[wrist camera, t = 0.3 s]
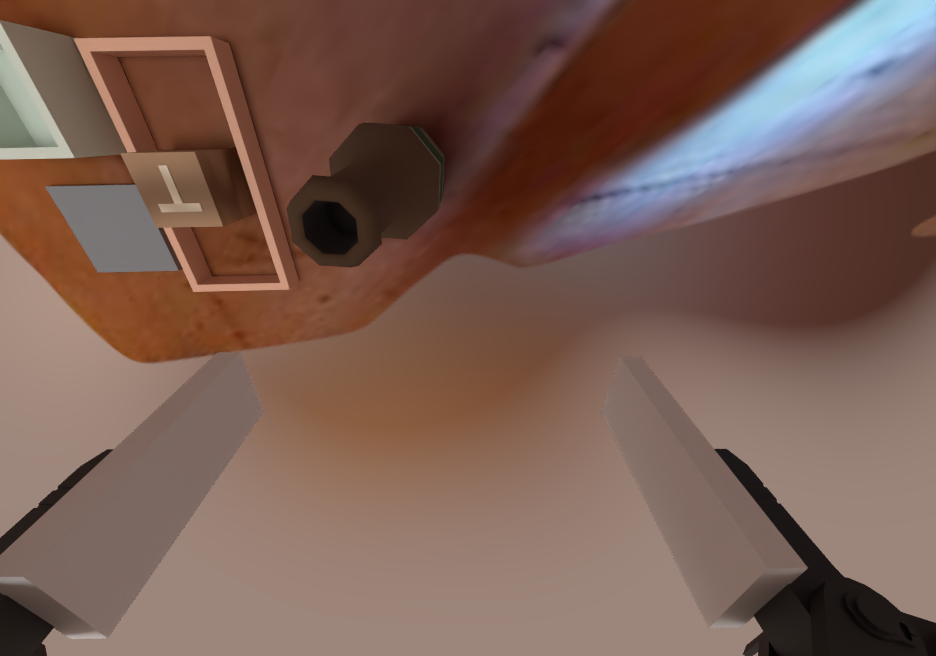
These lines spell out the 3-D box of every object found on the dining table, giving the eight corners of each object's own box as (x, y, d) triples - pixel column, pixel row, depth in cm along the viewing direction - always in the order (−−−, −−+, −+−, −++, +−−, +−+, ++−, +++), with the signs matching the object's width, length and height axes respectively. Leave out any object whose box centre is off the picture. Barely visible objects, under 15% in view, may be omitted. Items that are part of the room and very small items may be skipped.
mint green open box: (-29, 39, 28) (-128, 21, 23) (76, 37, 28) (-2, 19, 23) (40, 155, 32) (-31, 159, 28) (130, 153, 32) (74, 157, 28)
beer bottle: (389, 217, 36) (296, 337, 15) (355, 138, 32) (171, 157, 12) (458, 194, 35) (456, 288, 14) (431, 109, 31) (376, 71, 10)
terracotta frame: (102, 45, 28) (73, 38, 26) (229, 43, 28) (210, 36, 26) (208, 282, 39) (193, 291, 37) (298, 280, 39) (289, 289, 37)
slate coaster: (51, 185, 34) (45, 186, 33) (142, 183, 34) (137, 184, 33) (103, 270, 38) (98, 272, 38) (182, 268, 38) (178, 270, 38)
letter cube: (173, 149, 32) (117, 153, 27) (236, 148, 32) (193, 151, 27) (199, 213, 35) (154, 228, 30) (257, 212, 36) (222, 226, 30)
